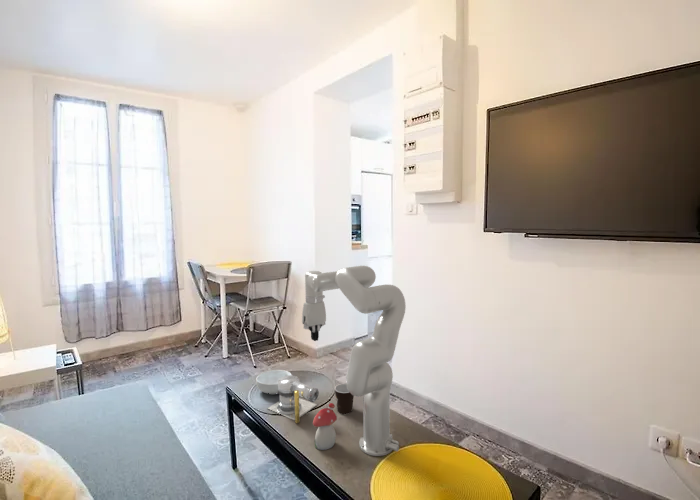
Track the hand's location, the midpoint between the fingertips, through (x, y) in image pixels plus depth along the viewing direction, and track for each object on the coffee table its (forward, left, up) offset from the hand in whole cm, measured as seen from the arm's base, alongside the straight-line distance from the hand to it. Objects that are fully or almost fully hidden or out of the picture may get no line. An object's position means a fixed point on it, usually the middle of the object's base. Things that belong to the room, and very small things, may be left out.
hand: (314, 339), depth 161 cm
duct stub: (+5, +10, -29) cm, 31 cm away
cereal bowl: (+24, +2, -29) cm, 38 cm away
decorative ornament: (-22, +22, -29) cm, 43 cm away
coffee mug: (-14, -3, -29) cm, 33 cm away
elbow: (+1, +11, -21) cm, 24 cm away
